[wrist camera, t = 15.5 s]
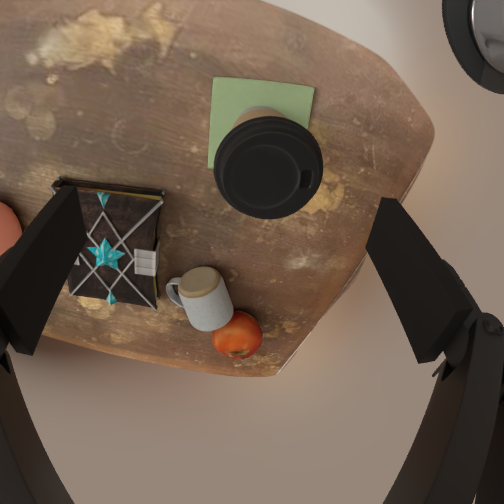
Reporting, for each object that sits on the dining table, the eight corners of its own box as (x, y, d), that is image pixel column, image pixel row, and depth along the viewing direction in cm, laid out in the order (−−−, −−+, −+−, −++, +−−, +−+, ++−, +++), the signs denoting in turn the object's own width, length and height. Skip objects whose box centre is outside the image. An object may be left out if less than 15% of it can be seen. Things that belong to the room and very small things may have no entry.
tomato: (222, 298, 56) (222, 334, 49) (269, 310, 58) (274, 346, 52) (205, 328, 61) (204, 363, 54) (249, 338, 63) (251, 372, 57)
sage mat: (313, 86, 34) (314, 87, 34) (298, 173, 42) (299, 175, 41) (213, 76, 33) (213, 77, 33) (208, 166, 40) (207, 168, 40)
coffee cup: (307, 145, 39) (341, 203, 27) (240, 173, 41) (243, 242, 29) (278, 79, 33) (305, 103, 21) (206, 111, 35) (190, 153, 23)
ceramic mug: (221, 258, 50) (219, 294, 44) (234, 294, 55) (233, 329, 49) (159, 270, 51) (150, 304, 45) (177, 303, 56) (171, 337, 50)
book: (59, 174, 39) (43, 190, 35) (168, 186, 42) (161, 204, 38) (74, 283, 52) (65, 302, 48) (161, 297, 55) (157, 318, 51)
